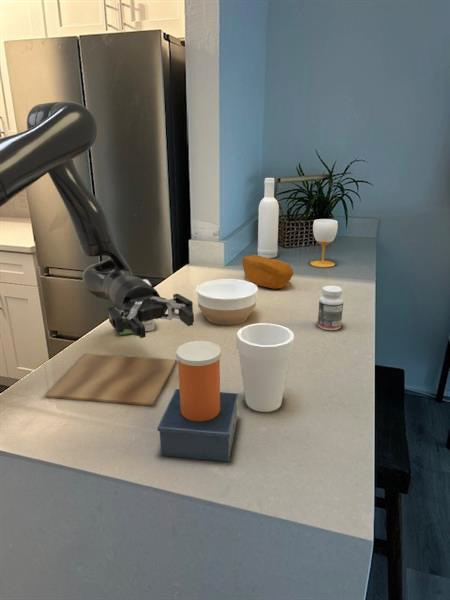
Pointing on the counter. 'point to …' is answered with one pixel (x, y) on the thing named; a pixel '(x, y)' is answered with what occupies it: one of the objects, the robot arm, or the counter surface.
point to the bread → (266, 271)
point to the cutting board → (114, 379)
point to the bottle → (268, 222)
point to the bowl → (226, 300)
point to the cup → (324, 238)
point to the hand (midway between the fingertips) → (168, 326)
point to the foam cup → (264, 363)
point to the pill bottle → (330, 308)
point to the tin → (199, 431)
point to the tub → (199, 380)
